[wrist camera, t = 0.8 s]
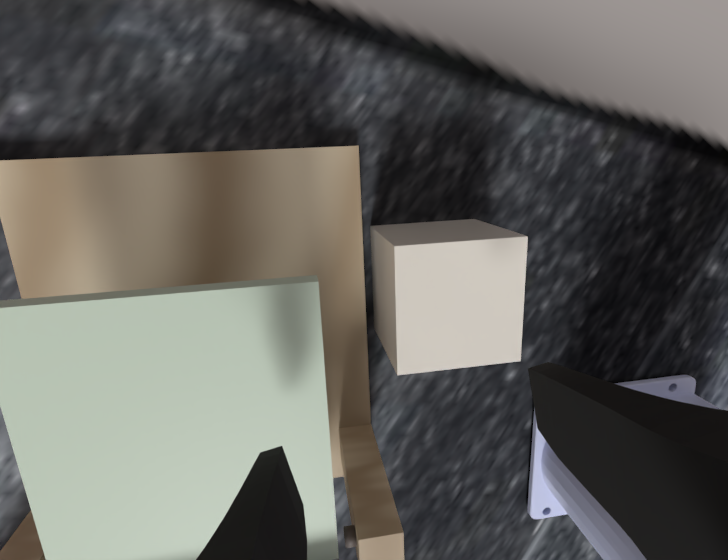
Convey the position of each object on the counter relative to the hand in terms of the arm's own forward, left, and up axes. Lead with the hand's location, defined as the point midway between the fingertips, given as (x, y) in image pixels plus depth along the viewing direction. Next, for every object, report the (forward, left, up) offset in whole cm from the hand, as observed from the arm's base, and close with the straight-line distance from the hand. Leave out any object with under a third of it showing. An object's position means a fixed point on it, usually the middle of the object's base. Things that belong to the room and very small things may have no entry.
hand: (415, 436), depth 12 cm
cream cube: (-3, -2, -10) cm, 10 cm away
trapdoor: (+7, +3, -4) cm, 9 cm away
